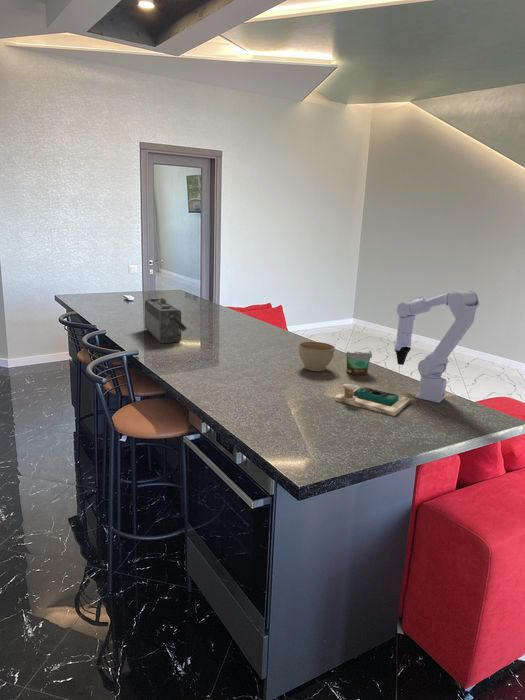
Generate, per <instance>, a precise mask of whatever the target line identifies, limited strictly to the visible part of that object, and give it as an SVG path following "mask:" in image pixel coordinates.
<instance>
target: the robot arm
mask: <svg viewBox="0 0 525 700" xmlns="http://www.w3.org/2000/svg"><path fill="white" fill-rule="evenodd" d="M479 300H480V299H479V296H478V294H477V293H476V292H475V291H473V290H468V291H467V290H466V291H452V292H446V293H443V294H440V295H437V296H433V297H430V298H428V297H426V296H418V298H417V299H414V300H413V299H410V300H408V302H401V303H399V304H398V305H397V307H396V314H397V315H398V322H397V323H398V324H397V333H396V340H393V342H392V343H393V344H395V345H394V352H395V355H396V360H397V365H401V366H403V365H405V362H406V359H407V356H408V354H409V353H410V351H411V350H412V348H411V346H412V335H413V328H414V321H415V319H416V316H417V315H421V314H424V313H428V312H430V311H431V309H432V308H434V307H437V306H441V305H445V306H448V308H449V310H450V312H451V313H452V315H453V317H454V319H455V320H454V322H453V323H452V325H451V326H450V327H449V329H448V330H447V332H446V333H445V335H444V336H443V337H442V339H441V340H440V341H439V343H438V345H436V348H435V349H434V350H433V352H431V353H429V354H428V355H426V356H425V357H424V358H423V359H421V360H420V361H419V362H418V364H417V370H418V373H419V375H420V379H419V388H418V393H417V394H416V395H414V398H417V399H421V400H425V401H429V402H433V403H438V404H439V403H441V402H442V401H443V400H444V399H445V395H446V389H447V382H448V381H447V379H446V378H443V377H442V376H443V375H442V374H444V373H445V371H446V369H447V366H448V364H449V362H450V361H449V359H448V358H449V356H450V355H451V354H452V352H453V351H454V349H456V347H457V346H458V344H459V343H460V341H461V340H462V339H463V337H464V336H465V334H466V333H467V332H468V331H469V330H470V328H471V327H472V325H473V323H474V322H475V316H476V312H477V308H478V307H479V306H480V301H479Z"/></svg>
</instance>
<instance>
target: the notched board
mask: <svg viewBox="0 0 525 700" xmlns="http://www.w3.org/2000/svg"><path fill="white" fill-rule="evenodd" d="M342 388H343V389H344V391H342V392H341V393H339V394H336V396H334V401H335V402H339V403H343V404H347V405H351V406H354V407H358V408H363V409H366V410H369V411H373V410H374V412H377V411H378V413H381V412H382V413H381V414H385V413H386V415H388V416H389V415H390V416H393V417H395V416H396V415H398V414H399V413H400V412H402V410H403V409H404V408H405V407H407V406H408V405H409V404H410V403H411V402H412V398H411V397H407V396H402V397H401V398H400V399H398V401H397V402H396V403H395V404H393V405H387V404H383V403H382V404H381V403H379V402H375V401H371V400H370V401H369V400H367V399H363V398H359V397H358V398H357V397H356V396H355V395H357V391H358V390H360V389H361V388H363V387H362V386H360V385H356V384H353V383H345V384H342Z"/></svg>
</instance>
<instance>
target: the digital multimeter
mask: <svg viewBox="0 0 525 700" xmlns="http://www.w3.org/2000/svg"><path fill="white" fill-rule="evenodd" d="M357 397H358V398H360V397H361V398H360V399H364V400H368V401H369V400H370V401H372V402H376V403H380V402H381V403H382V404H384V403H385V404H384V405H387V406H392V405H393V404H395V403H396V402H397V401H399V398H400V397H399V394H397V393H391V392H386V391H383V390H378V389H374V388H370V387H367V386H364V387H362V388H361V389H360V390H358V391H357V393H356V398H357ZM381 403H380V404H381Z"/></svg>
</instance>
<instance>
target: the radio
mask: <svg viewBox="0 0 525 700" xmlns="http://www.w3.org/2000/svg"><path fill="white" fill-rule="evenodd" d="M144 316H145V317H144V321H145V323H144V327H145V330H146V329H147V330H148V331H149V332H150V333H151V334H152V335H151V334H150V333H149V332H148V331H147V330H146V331H147V332H148V333H149V334H150V335H151V336H152V337H153V338H155V339H156V341H158V342H159V343H160V344H173V343H172V342H177V343H180V342H181V341H182V333H183V332H185V331H186V330H187V329H188V327H187V326H186V325H185V324H184V323H182V310H181V309H179V308H177V307H175V306H174V305H172V304H170V303H169V302H167V299H166V298H164V297H161V298H158V297H151V298H150V299H145V302H144Z"/></svg>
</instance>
